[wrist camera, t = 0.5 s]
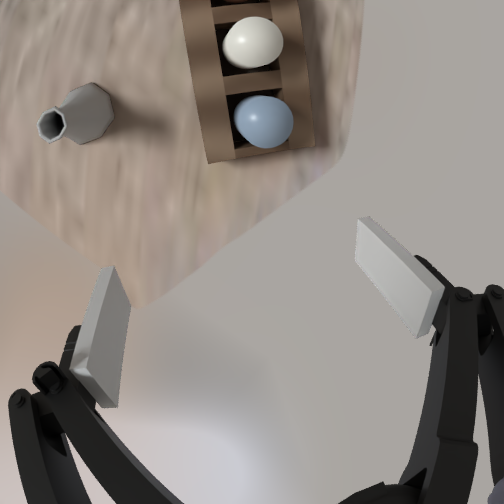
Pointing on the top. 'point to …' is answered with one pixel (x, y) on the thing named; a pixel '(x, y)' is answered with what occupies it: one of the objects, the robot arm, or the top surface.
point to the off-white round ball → (252, 43)
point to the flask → (78, 116)
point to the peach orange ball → (236, 1)
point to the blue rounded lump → (263, 120)
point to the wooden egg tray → (217, 87)
